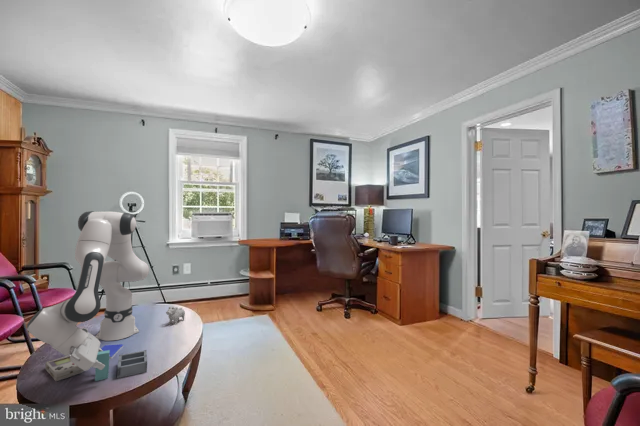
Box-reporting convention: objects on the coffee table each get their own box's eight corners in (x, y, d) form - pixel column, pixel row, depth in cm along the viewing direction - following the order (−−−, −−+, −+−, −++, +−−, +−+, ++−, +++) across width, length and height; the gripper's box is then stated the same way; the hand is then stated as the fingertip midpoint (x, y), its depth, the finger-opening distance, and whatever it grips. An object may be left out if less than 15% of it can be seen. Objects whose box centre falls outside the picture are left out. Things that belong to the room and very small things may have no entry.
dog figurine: (162, 326, 165) (163, 307, 165) (178, 318, 177) (179, 301, 177) (170, 327, 163) (171, 308, 164) (186, 319, 176) (186, 302, 176)
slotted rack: (118, 364, 122) (119, 355, 122) (145, 359, 127) (146, 350, 127) (116, 378, 112) (117, 368, 112) (146, 371, 117) (147, 362, 117)
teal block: (95, 377, 112) (97, 352, 112) (108, 375, 114) (109, 349, 114) (94, 381, 110) (96, 354, 110) (107, 378, 112) (109, 352, 112)
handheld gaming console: (56, 373, 108) (45, 361, 116) (56, 383, 108) (44, 369, 116) (86, 364, 116) (74, 352, 124) (86, 372, 115) (73, 361, 124)
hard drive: (111, 356, 127) (123, 344, 139) (90, 357, 125) (104, 345, 137) (111, 359, 127) (123, 347, 139) (89, 361, 125) (103, 348, 137)
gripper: (76, 346, 100) (109, 367, 105) (85, 326, 117) (113, 345, 122) (58, 362, 97) (93, 383, 102) (70, 339, 114) (99, 358, 119)
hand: (104, 362), depth 112 cm, fingers open, 7 cm apart
